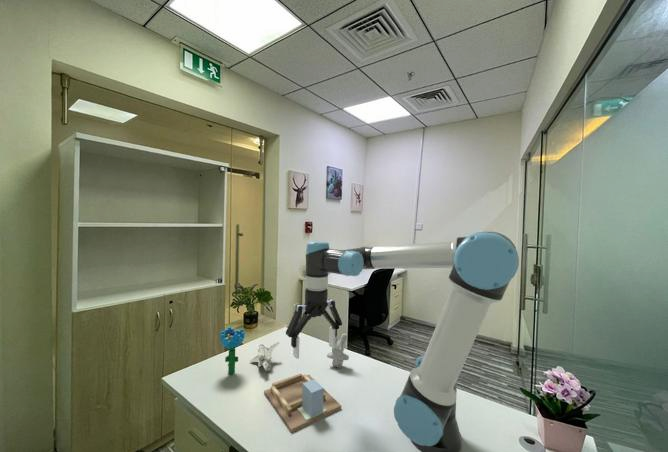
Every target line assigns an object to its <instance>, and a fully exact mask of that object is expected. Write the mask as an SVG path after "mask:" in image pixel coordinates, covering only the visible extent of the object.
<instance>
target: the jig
mask: <svg viewBox="0 0 668 452" xmlns="http://www.w3.org/2000/svg"><path fill="white" fill-rule="evenodd" d="M313 379H314V378H313V377H312V376H311V375H310V374H307V375H306V374H302V373H299V374H295V375H293V376H291V377H288V378H284V379H281V380H279V381H276V382H273V383H272V385H271V386H270V388H268V389H265V390H264V392H263V394H264V396H265V397H266V399H267V400H268V402H269V403H270V404H271V405H270V406H272V408H273V409H274V410H275V412H276V413H277V415H278V417H279V418H280V420H281V421H282V422H283V424H284V425H285V426H286V428H287V429H288V431H289V433H291V434H292V433H294V432H296V431H298V430H301V429H302V428H304V427H307V426H309V425H311V424H313V423H315V422H317V421H320V420H321V419H323V418H326V417H328V416H329V415H331V414H333V413H335V412H338V411H340V410H342V405H341V404H340V403H339V402H338V401H337V400H336V399H335V398H334V397H333V396H332V395H331V394H330V393H329V392H328V391H326V389H325V388H324V392H323V412H322V413H320V414H318V415H316V416H313V417H310V416H309V415H308V413H307V412H306V411H305V410H304V409H303V407H302V388H303V383H305V382H307V381H310V380H313Z"/></svg>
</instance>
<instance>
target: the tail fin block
mask: <svg viewBox="0 0 668 452" xmlns="http://www.w3.org/2000/svg"><path fill="white" fill-rule="evenodd" d="M324 389H325V388H324V387H323V386H322V385H321V384H320V383H319V382H318V381H317V380H316V379H314V378H313V380H310V381H307V382H305V383H303V388H302V407H303V409H304V410H305V411H306V412H307V413H308V415H309V416H310V417H313V416H316V415H318V414H320V413H322V412H323V392H324Z"/></svg>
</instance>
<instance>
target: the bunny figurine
mask: <svg viewBox="0 0 668 452" xmlns="http://www.w3.org/2000/svg"><path fill="white" fill-rule="evenodd" d="M347 339H348V335H347V334H346V333H342V334H341V336H340V339H339V340H338V339H337V337H335V348H332V347H331V352H328V353H327V355H326V357H327V358H328V359H331V360H332V363H331V364H332V367H333V368H338V369H342V368H343V364H344V361H349V357H350V356H349V355H348V354H346V353H344V351H345V343H346V341H347Z"/></svg>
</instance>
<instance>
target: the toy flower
mask: <svg viewBox="0 0 668 452" xmlns="http://www.w3.org/2000/svg"><path fill="white" fill-rule="evenodd" d="M244 339H245V329H244V328H241V329H239V330H238V329H237V330H235V328H232V326H228V327H227V329H224V330H221V331H220V334H219V340H220V342H221V344H222V346H224V347H225V348H226V349H228V355H227V356H225V358H224V362H225V363H227V366H228V367H227V368H228V370H227V373H228V375H230V376H231V375H233V374H235V373H236V363H237V362H239V356H236V348H238V347H240V345H241V344H242V343H244Z"/></svg>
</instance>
